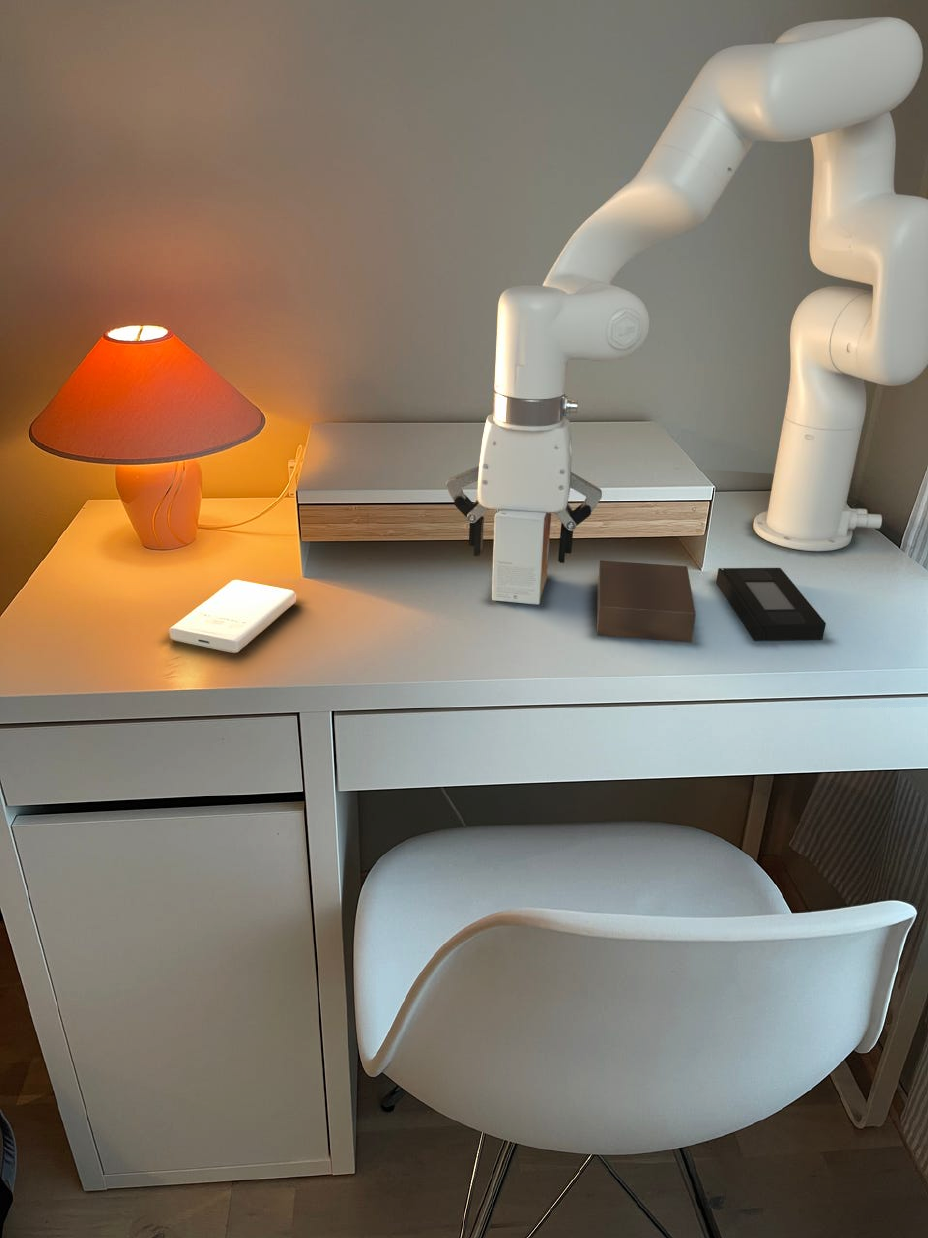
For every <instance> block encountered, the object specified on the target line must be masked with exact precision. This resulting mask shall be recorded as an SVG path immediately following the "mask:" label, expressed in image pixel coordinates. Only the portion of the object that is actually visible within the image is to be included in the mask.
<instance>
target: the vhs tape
mask: <svg viewBox="0 0 928 1238" xmlns="http://www.w3.org/2000/svg"><path fill="white" fill-rule="evenodd" d="M715 583H716V584H717V586H718V588H719V589H720V591H721V592H722V594H723V595H724V597H725V598H726V600H727V601H728V602H729V604H730V605H731V607H732V608H733V610H734V612H735V613H736V615H737V616H738V618H739V619H740V621H741V622H742V624H743V625H744V627H745V628H746V630H747V631H748V633H749V634H750V636H751V638H752V639H753V640H754V641H755V642H756V641H757V642H759V641H761V642H763V641H767V642H768V641H771V642H773V641H774V642H775V641H820V640H821V641H822V640H823V639H824V635H825V630H826V625H827V622H825V620H824V619H823V618H822V617H821V615H820V614H819V613H818V611H817V610H816V609H815V608H814V607H813V605H812V604H811V603H810V602H809V600H807V598H806V597H805V596H804V594H803V593H802V592H801V591H800V590H799V589H798V587H797V586H796V584H794V583H793V582H792V580H791V578H790V577H789V576H788V575H787V574H786V572H785V571H784V570H783V569H782V568H781V567H718V568H717V576H716V581H715Z"/></svg>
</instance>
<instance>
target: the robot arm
mask: <svg viewBox="0 0 928 1238" xmlns="http://www.w3.org/2000/svg"><path fill="white" fill-rule="evenodd" d="M923 61H924V49H923V44H922V40H921V38H920V36H919V34H918V32H917V31H916V29H915V28H914V27H913V26H912V25H911V24H910V23H908V22H907V21H906V20H903V19H902V18H898V17H893V16H877V17H875V16H874V17H863V18H850V19H849V18H848V19H830V20H820V21H812V22H806V23H802V24H798V25H796V26H793V27H791V28H789V29H787V30H786V31H784V32H783V33H782V34H781V35H780V36H779V37H777V39H776V40H775V42H774V43H773V42H770V43H769V42H768V43H751V44H739V45H733V46H729V47H726V48H724V49H721V50H720V51H718V52H716V53H715V54H713V55H712V56H711V57H710V58H709V59H708V60H707V61H706V63H705V64H704V65H703V66H702V68H701V69H700V71H699V73H698V74H697V76H696V77H695V78H694V80H693V82H692V84H691V85H690V87H689V89H688V91H687V92H686V94H685V95H684V97H683V99H682V100H681V102H680V104H679V105H678V107H677V109H676V110H675V112H674V114H673V115H672V116H671V118H670V120H669V122H668V124H667V125H666V126H665V129H664V130H663V132H662V134H661V135H660V137H659V138H658V140H657V142H656V143H655V144H654V147H653V148H652V150H651V152H650V154H649V155H648V157H647V158H646V159H645V161H644V163H643V165H642V166H641V168H640V170H639V171H638V172H637V174H636V175H635V176H634V177H633V178H632V179H631V180H630V181H629V182H627V184H625V185H624V186H622V187H621V188H620V189H619V190H618V191H616V192H615V193H614V194H613V195H612V196H611V197H610V198H608V199H607V200H606V201H605V202H604V203H603V204H602V205H601V206H600V207H599V208H598V209H597V210H595V211H594V212H593V213H592V214H591V215H590V216H589V217H588V218H587V219H586V220H584V222H582V224H580V226H579V227H578V228H577V229H576V230H575V232H574V233H572V235H571V236H570V238H569V239H568V241H567V242H566V243H565V245H564V247H563V248H562V250H561V252H560V253H559V255H558V256H557V258H556V260H555V262H554V263H553V265H552V267H551V268H550V270H549V272H548V273H547V275H546V278H545V279H544V281H543V283H542V285H532V284H530V285H528V284H527V285H515V286H510V287H508V288H506V289H505V290H504V291H503V292H502V293H501V294H500V296H499V298H498V299H499V300H498V304H497V321H496V343H495V349H496V350H495V369H494V391H493V412H492V413H491V414H488V415H487V417H486V421H485V425H484V430H483V435H482V439H481V440H482V441H481V447H480V454H479V455H480V456H479V463H478V466H475V467H473V468H471V469H468V470H466V471H463V472H461V473H458V474H457V475H454V476H452V477H449V478H448V479H447V481H446V484H445V487H446V489H447V491H448V494H449V495H450V497H451V499H452V501H453V502H454V503H453V504H454V506H455V507H456V508H457V510H459V512H461V514H462V515H463V516H464V517H465V518H466V521H467V522H468V523H469V525H468V526H469V527H468V546H469V547H473V557H479V556H481V554H482V552H483V551H482V550H483V545H484V526H485V524H484V523H485V516H483V515H485V514H486V513H487V512H488V510H489V509H491V510H496V511H498V510H514V511H531V512H543V513H551V514H555V516H556V517H557V518H558V520H559V521H560V522H561V524H560V534H559V545H558V557H557V561H558V562H559V563H561V564H565V558H566V554H572V550H573V549H572V548H573V539H574V530H576V529H577V526H579V525H580V524H582V523H583V522H584V521H585V520H586V519H587V518H589V517H590V516H591V514H592V512H593V511H594V509H596V507H597V505H598V504H599V503H600V501H601V499H602V497H603V490H602V489H601V488H600V487H598V486H596V485H594V484H593V483H591V482H589V481H588V480H586V479H584V478H583V477H581V476H579V475H578V474H576V473H574V472H572V457H573V456H572V455H573V452H572V451H573V450H572V449H573V448H572V447H573V445H572V430H571V429H572V428H571V422H570V419H568V418H566V417H567V415H570V414H577V413H578V404H579V399H578V400H577V399H572V398H568V395H566V384H567V373H568V361H570V360H579V361H580V360H581V361H591V362H599V363H601V362H602V363H606V362H607V363H611V362H616V361H621V360H625V359H627V358H629V357H630V356H632V355H634V354H635V353H636V352H637V351H639V349H640V348H641V347H642V346H643V344H644V343H645V341H646V339H647V337H648V334H649V331H650V315H649V312H648V309H647V307H646V305H645V304H644V302H643V301H642V300H641V299H640V298H639V297H638V296H637V295H636V294H635V293H633V292H631V291H630V290H628V289H625V288H622V287H619V286H616V285H613V284H612V282H613V281H614V279H615V278H616V276H617V275H618V274H619V273H620V272H621V270H622V269H623V268H624V267H625V266H626V265H627V264H628V263H629V262H630V261H631V260H632V259H634V258H635V257H636V256H638V254H640V253H641V252H643V251H644V250H646V249H648V248H650V247H652V246H654V245H656V244H658V243H660V242H663V241H665V240H668V239H671V238H673V237H676V236H678V235H681V234H683V233H685V232H688V231H689V230H692V229H693V228H695V227H698V226H699V225H701V224H702V223H703V222H704V221H706V219H707V218H708V217H709V216H710V214H711V212H712V211H713V209H714V208H715V206H716V204H717V202H718V201H719V199H720V198H721V196H722V195H723V193H724V191H725V190H726V188H727V186H728V185H729V184H730V182H731V180H732V178H733V177H734V175H735V173H736V172H737V170H738V169H739V167H740V165H741V164H742V162H743V161H744V160H745V157H746V156H747V155H748V153H749V152H750V150H751V149H752V147H753V145H754V144H755V143H756V142H757V141H759V142H775V143H779V142H780V143H789V142H790V143H791V142H797V141H801V140H807V139H810V142H811V146H812V152H813V177H812V178H813V181H812V195H811V207H810V223H809V226H810V227H809V256H810V259H811V262H812V264H813V266H814V267H815V268H816V269H817V270H819V271H820V272H822V273H824V274H826V275H829V276H831V277H836V278H838V279H839V278H840V279H844V280H847V281H848V280H849V281H853V282H858V283H863V284H867V285H871V286H872V291H871V290H866V289H861V288H858V287H857V288H856V287H851V286H845V285H829V286H824V287H821V288H818V289H816V290H813V291H812V292H810V293H809V294H807V296H805V298H803V299H802V301H800V303H799V304H798V306H797V307H796V310H795V312H794V314H793V317H792V320H791V324H790V330H789V351H790V352H789V353H790V356H789V357H790V372H789V385H788V391H787V398H786V404H785V410H784V415H783V421H782V427H781V432H780V433H781V434H780V439H779V444H778V450H777V456H776V462H775V467H774V472H773V479H772V484H771V490H770V491H771V492H770V496H769V502H768V508H767V510H766V511H765V510H764V511H762V512H760V513H759V514H757V515H756V516H755V517H754V520H753V525H752V526H753V531H754V532H755V534H757V535H758V536H759V537H760V538H762V539H763V540H765V541H767V542H769V543H771V544H774V545H777V546H780V547H782V548H783V547H784V548H787V549H793V550H798V551H806V552H829V551H836V550H840V549H842V548H844V547H847V546H848V545H849V544H850V543H851V541H852V539H853V531H854V530H855V529H856V528H864V529H872V530H873V529H874V530H879V529H881V527H882V525H883V524H882V523H883V515H882V514H878V513H868V509H866V508H851V507H850V506H849V505H848V503H847V501H848V497H849V492H850V488H851V482H852V478H853V473H854V469H855V464H856V459H857V454H858V449H859V445H860V441H861V435H862V430H863V425H864V422H865V417H866V411H867V392H866V391H867V389H866V385H865V381H868V382H871V383H875V384H879V385H883V386H887V387H888V386H891V387H898V386H903V385H906V384H909V383H910V382H912V381H914V380H916V379H917V378H918V377H919V376H921V374H922V373H923V372H924V371H925V369H926V368H927V366H928V199H927V198H924V197H922V196H916V195H910V194H899V193H896V191H895V167H896V166H895V165H896V150H897V149H896V148H897V139H896V138H897V137H896V130H895V125H894V120H893V117H892V115H891V111H893V110H894V109H896V108H897V107H899V105H900V104H902V103H903V102H904V101H905V99H907V98H908V96H909V95H910V93H912V91H913V89H914V88H915V86H916V84H917V82H918V80H919V77H920V75H921V72H922V68H923ZM473 483H477V499H476V500H475V501H474V502H473V501H472V500H471V499H470V498H469V497H468V496H467V495H466V494H465V492H464V490H463V488H465V487H467V486H468V485H471V484H473ZM571 489H573V490H574V491H575V492H577V493H579V494H581V495H583V496H584V497H585V499H584V501H583V502H582V503H581V504H580V505H578V506H577V507H576V508H574V509H573V508H572V507H571V505H570V504H569V503H568V502H569V497H570V493H571V492H570V491H571Z"/></svg>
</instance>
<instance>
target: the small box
mask: <svg viewBox="0 0 928 1238" xmlns="http://www.w3.org/2000/svg"><path fill="white" fill-rule="evenodd" d="M493 522H494V523H493V524H494V525H493V526H494V527H493V550H492V551H493V552H492V554H493V555H492V584H491V585H492V586H491V600H492V601H497V602H507V603H517V604H526V605H538V606H539V605H540V604H541V599H542V595H543V592H544V590H545V589H544V588H545V585H546V582H547V578H548V568H549V567H548V565H549V551H550V534H551V525H552V524H551V523H552V513H543V512H531V511H514V510H496V513H495V515H494V521H493Z"/></svg>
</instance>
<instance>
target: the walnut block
mask: <svg viewBox="0 0 928 1238" xmlns="http://www.w3.org/2000/svg"><path fill="white" fill-rule="evenodd" d="M596 599H597V600H596V602H597V603H596V604H597V605H596V606H597V607H596V609H597V610H596V636H602V637H614V638H629V639H639V640H640V639H641V640H655V641H666V642H667V641H669V642H680V643H692V641H693V635H694V628H695V620H696V614H697V613H696V606H695V601H694V596H693V591H692V585H691V580H690V574H689V569H688V566H687V565H676V564H675V565H674V564H660V563H647V562H646V563H645V562H644V563H643V562H631V561H630V562H629V561H615V560H603V559H602V560H601V559H600V561H599V568H598V579H597V598H596Z"/></svg>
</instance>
